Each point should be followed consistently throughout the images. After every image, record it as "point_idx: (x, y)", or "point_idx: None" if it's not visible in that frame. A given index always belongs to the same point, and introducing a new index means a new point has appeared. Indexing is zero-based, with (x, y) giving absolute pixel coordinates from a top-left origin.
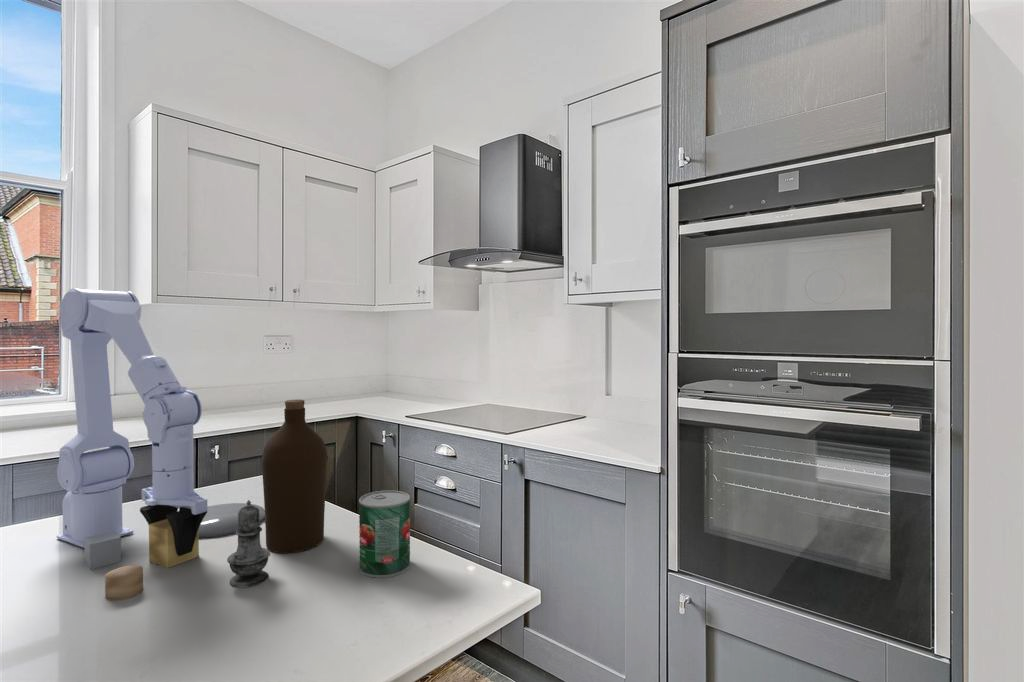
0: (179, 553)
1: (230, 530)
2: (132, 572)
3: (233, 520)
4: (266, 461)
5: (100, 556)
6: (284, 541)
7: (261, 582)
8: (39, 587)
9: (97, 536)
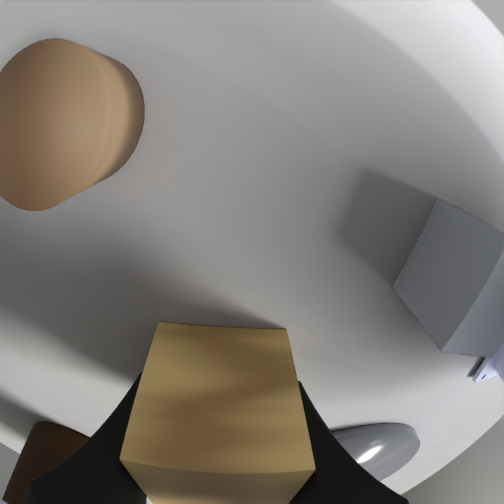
0: (138, 379)
1: None
2: (3, 149)
3: None
4: None
5: (446, 245)
6: (33, 439)
7: None
8: (448, 37)
9: None
